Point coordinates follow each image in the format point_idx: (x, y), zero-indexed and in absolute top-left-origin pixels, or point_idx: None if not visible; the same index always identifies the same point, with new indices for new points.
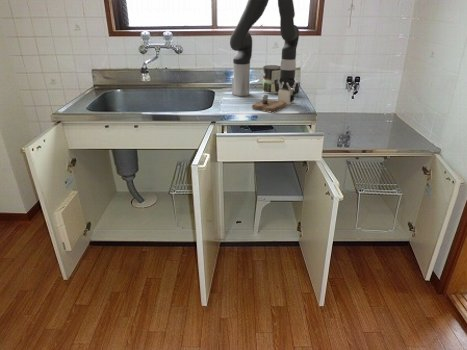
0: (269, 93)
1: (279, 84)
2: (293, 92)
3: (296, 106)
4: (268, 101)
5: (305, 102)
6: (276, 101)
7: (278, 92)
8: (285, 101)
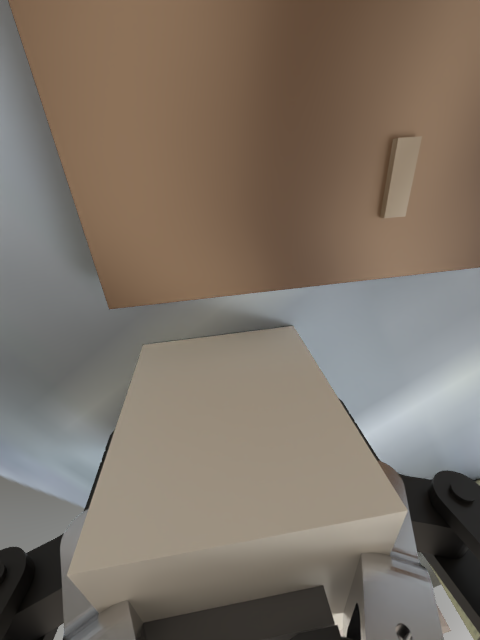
0: (477, 480)
1: (463, 611)
2: (54, 589)
3: (20, 365)
4: (414, 136)
5: (82, 503)
6: (277, 245)
7: (381, 467)
8: (183, 364)
